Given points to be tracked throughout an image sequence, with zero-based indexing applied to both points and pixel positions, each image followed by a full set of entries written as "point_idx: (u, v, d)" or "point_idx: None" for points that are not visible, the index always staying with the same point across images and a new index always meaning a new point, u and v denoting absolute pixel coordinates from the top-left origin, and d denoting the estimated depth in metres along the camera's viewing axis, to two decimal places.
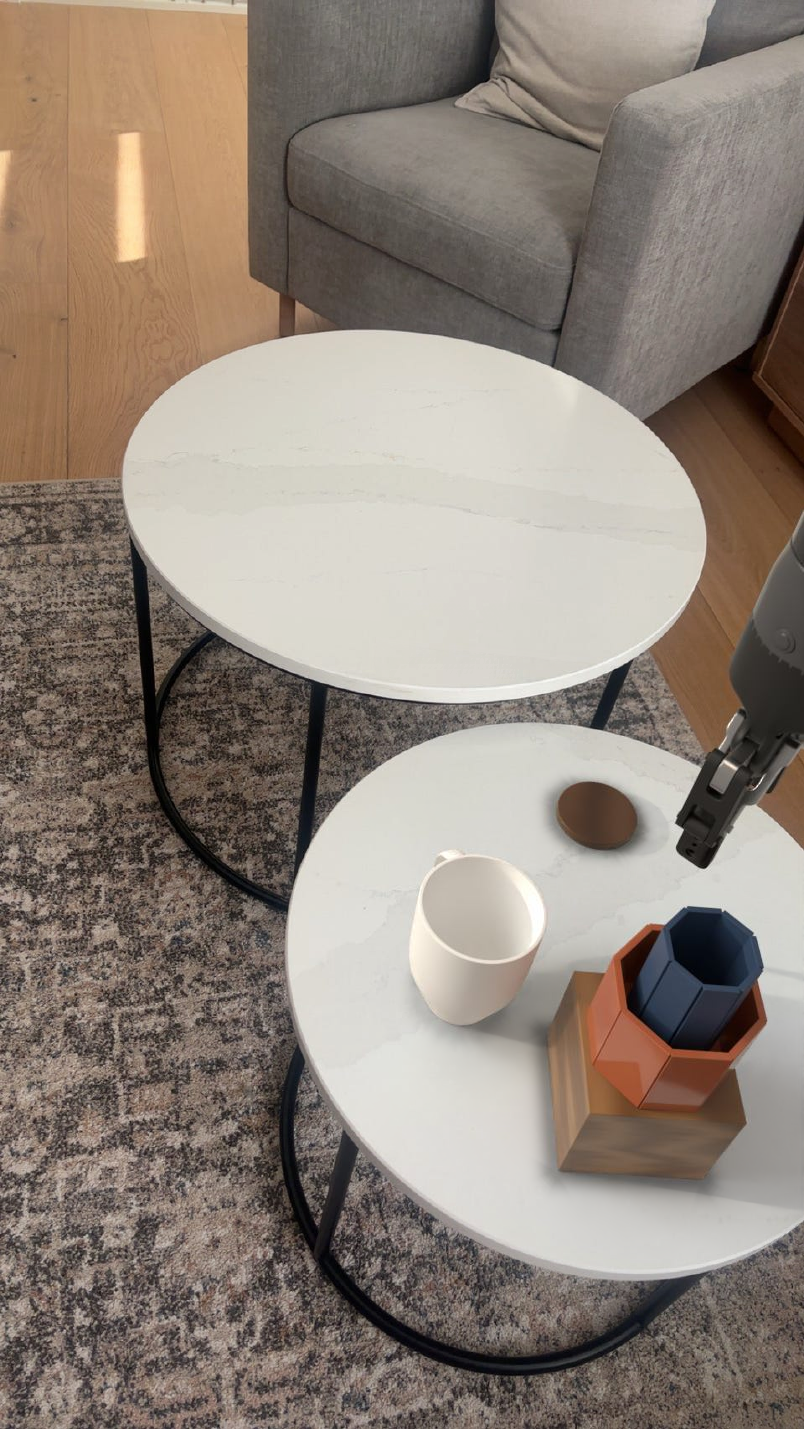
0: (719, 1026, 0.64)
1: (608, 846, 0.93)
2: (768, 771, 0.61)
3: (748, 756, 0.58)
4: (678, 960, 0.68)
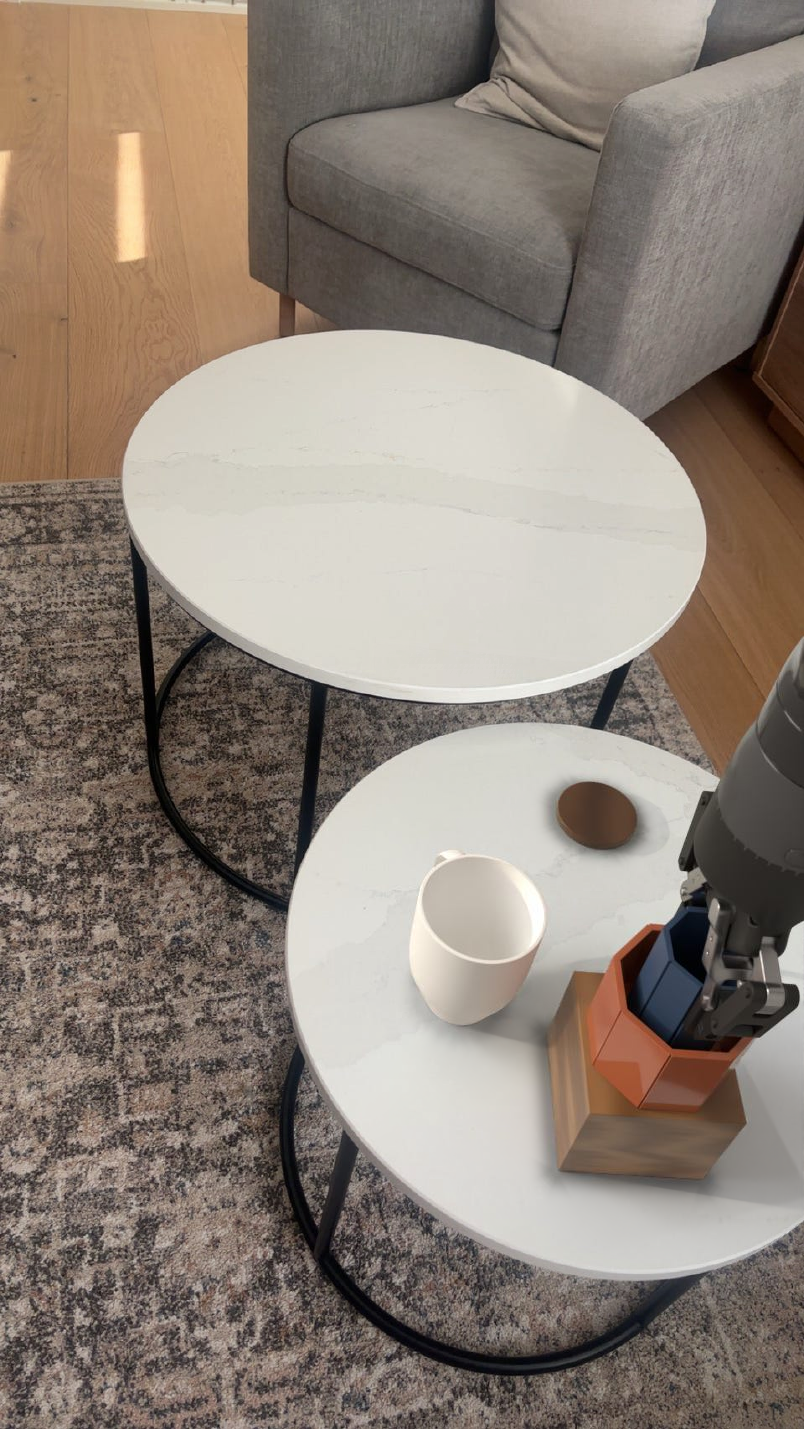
0: None
1: (608, 846, 0.93)
2: None
3: (778, 968, 0.55)
4: (678, 960, 0.68)
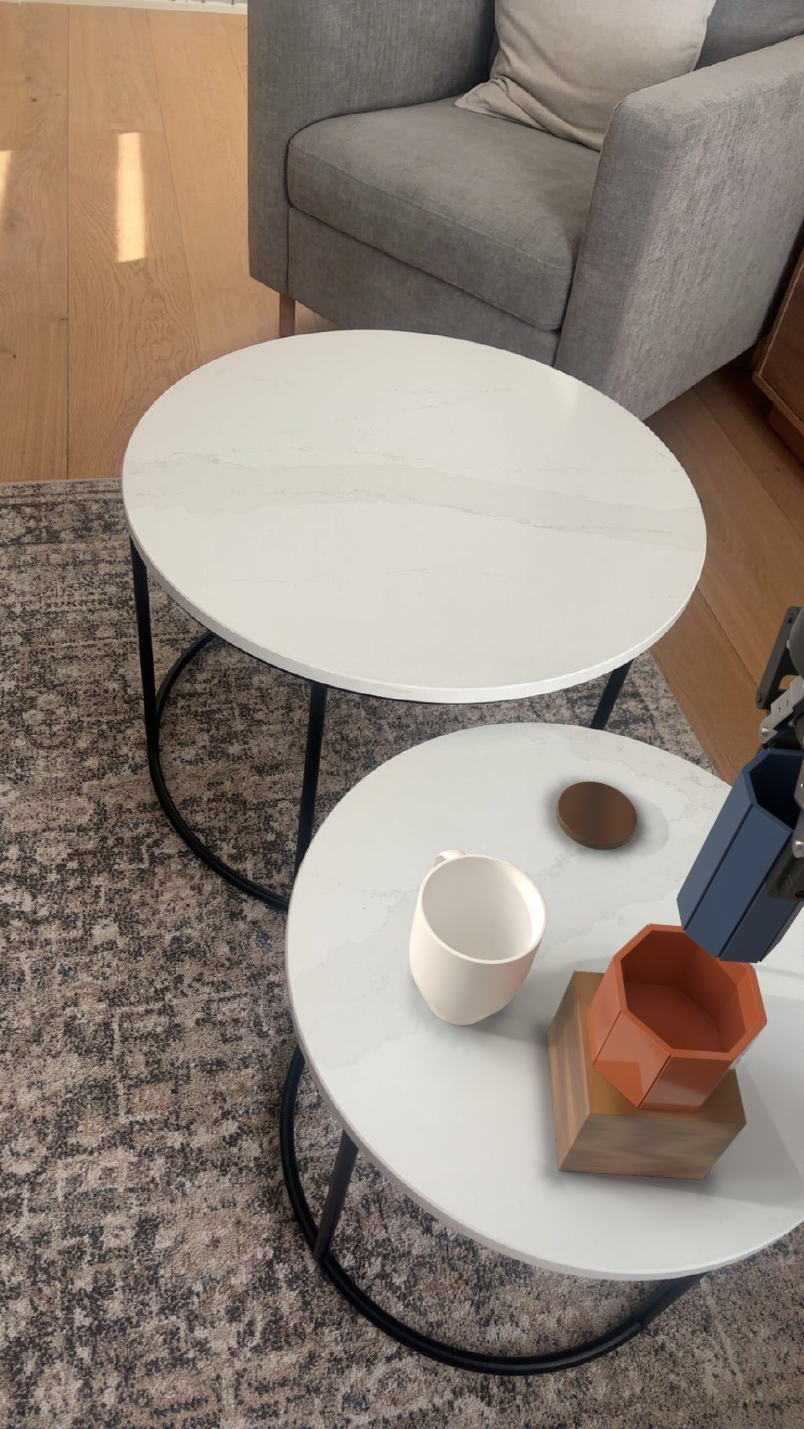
0: None
1: (608, 846, 0.93)
2: None
3: None
4: None
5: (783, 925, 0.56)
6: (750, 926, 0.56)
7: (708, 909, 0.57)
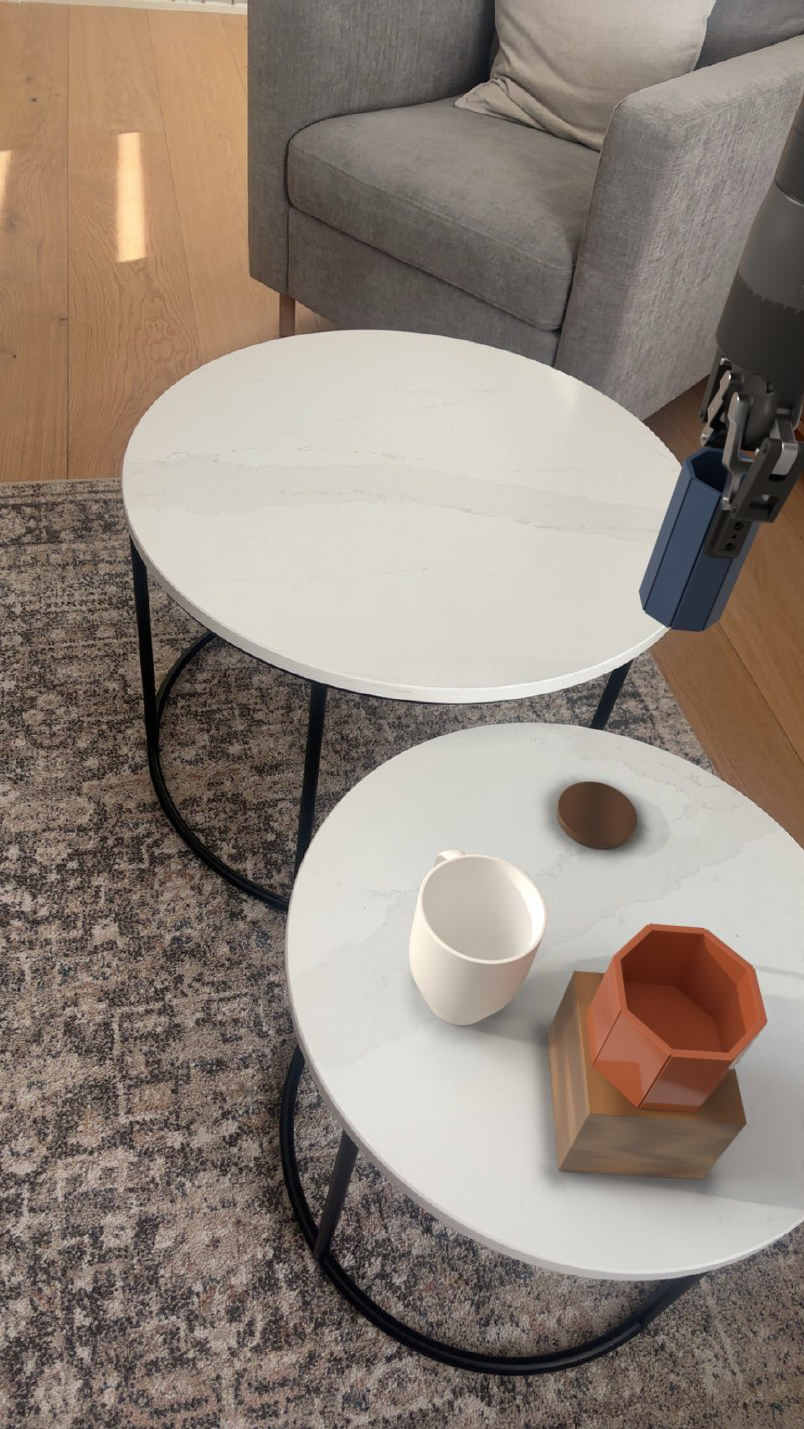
0: None
1: (608, 846, 0.93)
2: None
3: (791, 430, 0.61)
4: None
5: (719, 591, 0.73)
6: (693, 592, 0.73)
7: (661, 583, 0.74)
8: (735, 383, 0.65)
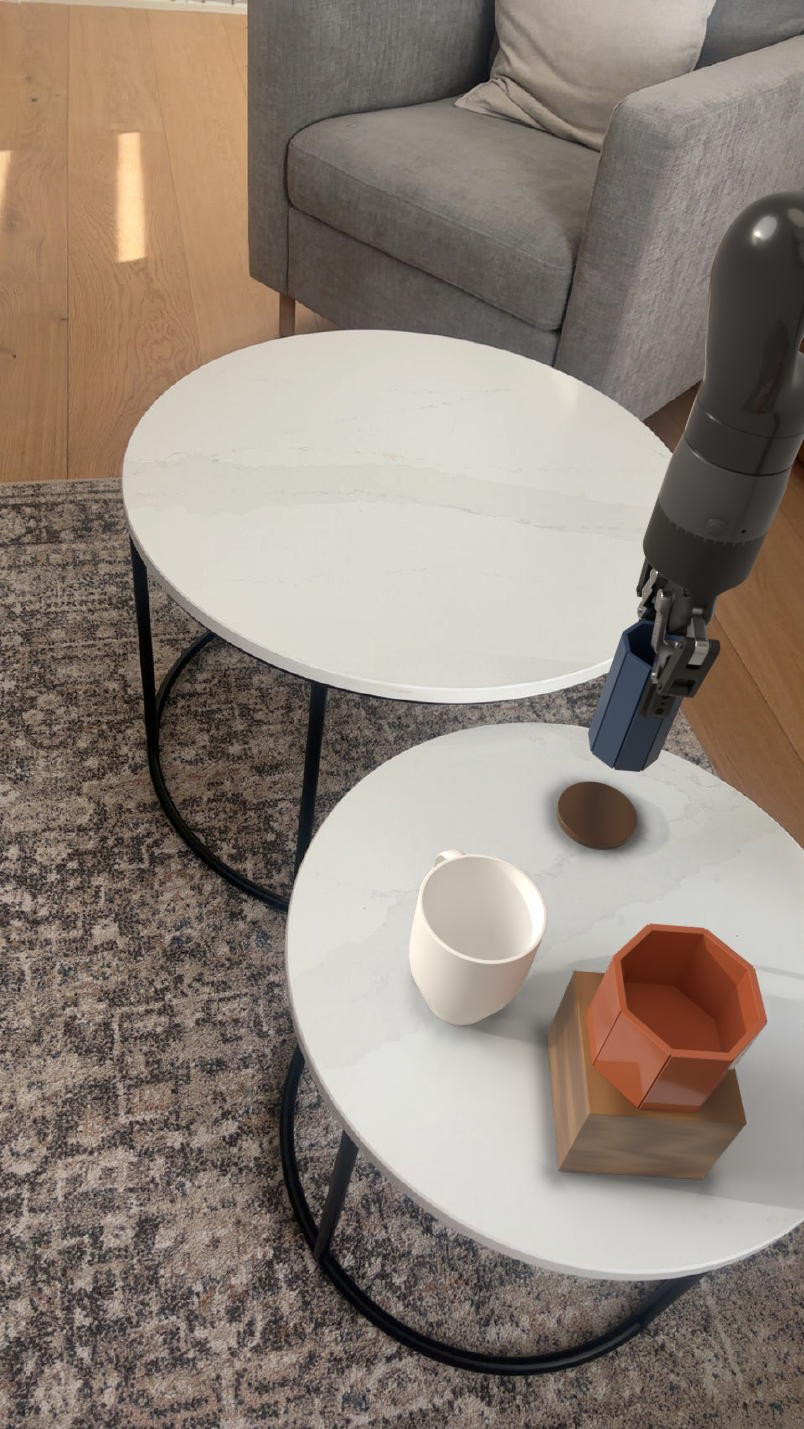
0: None
1: (608, 846, 0.93)
2: None
3: (704, 629, 0.73)
4: None
5: (654, 741, 0.84)
6: (632, 742, 0.84)
7: (605, 732, 0.85)
8: (661, 578, 0.77)
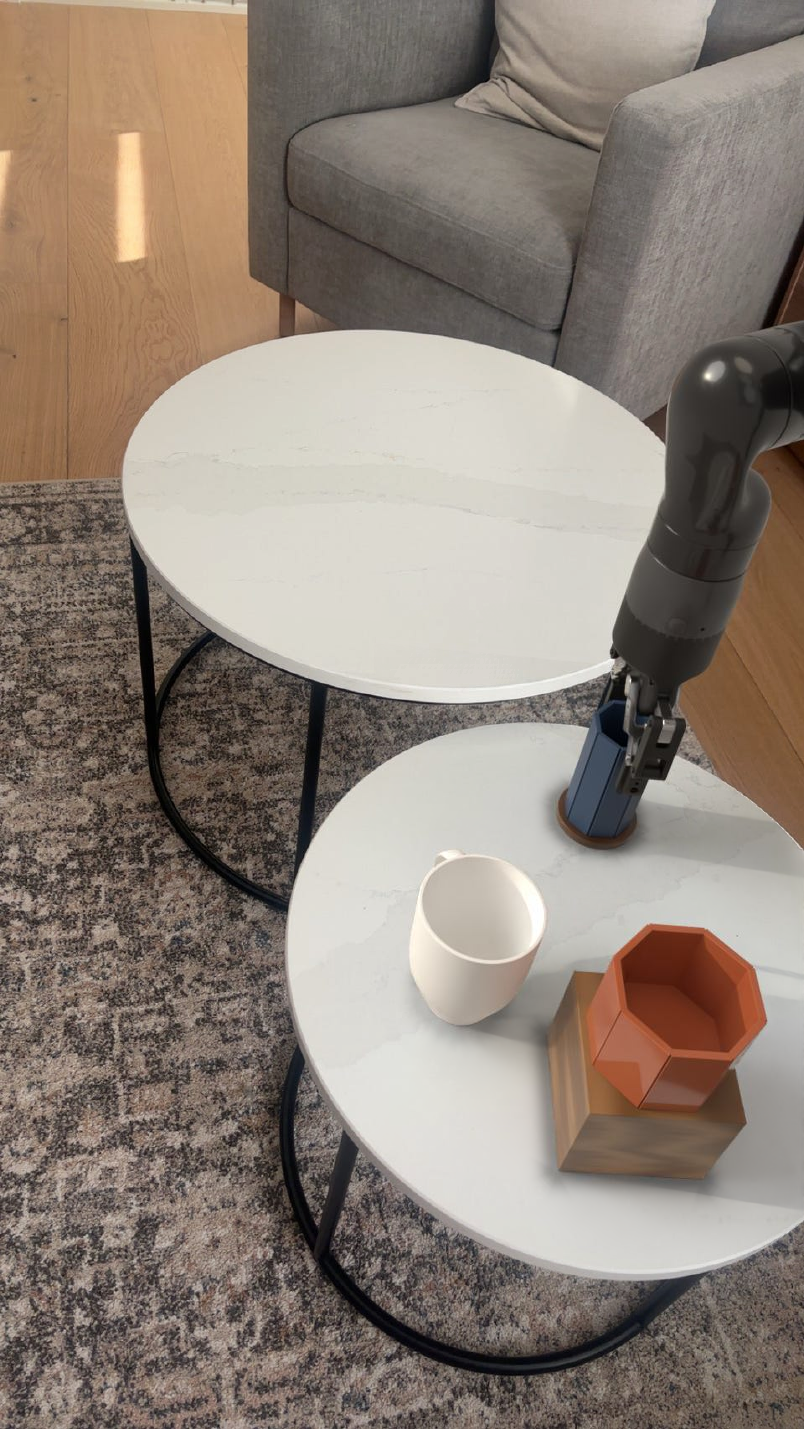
0: None
1: (608, 846, 0.93)
2: None
3: (670, 709, 0.79)
4: None
5: (625, 811, 0.91)
6: (604, 812, 0.90)
7: (579, 802, 0.91)
8: None
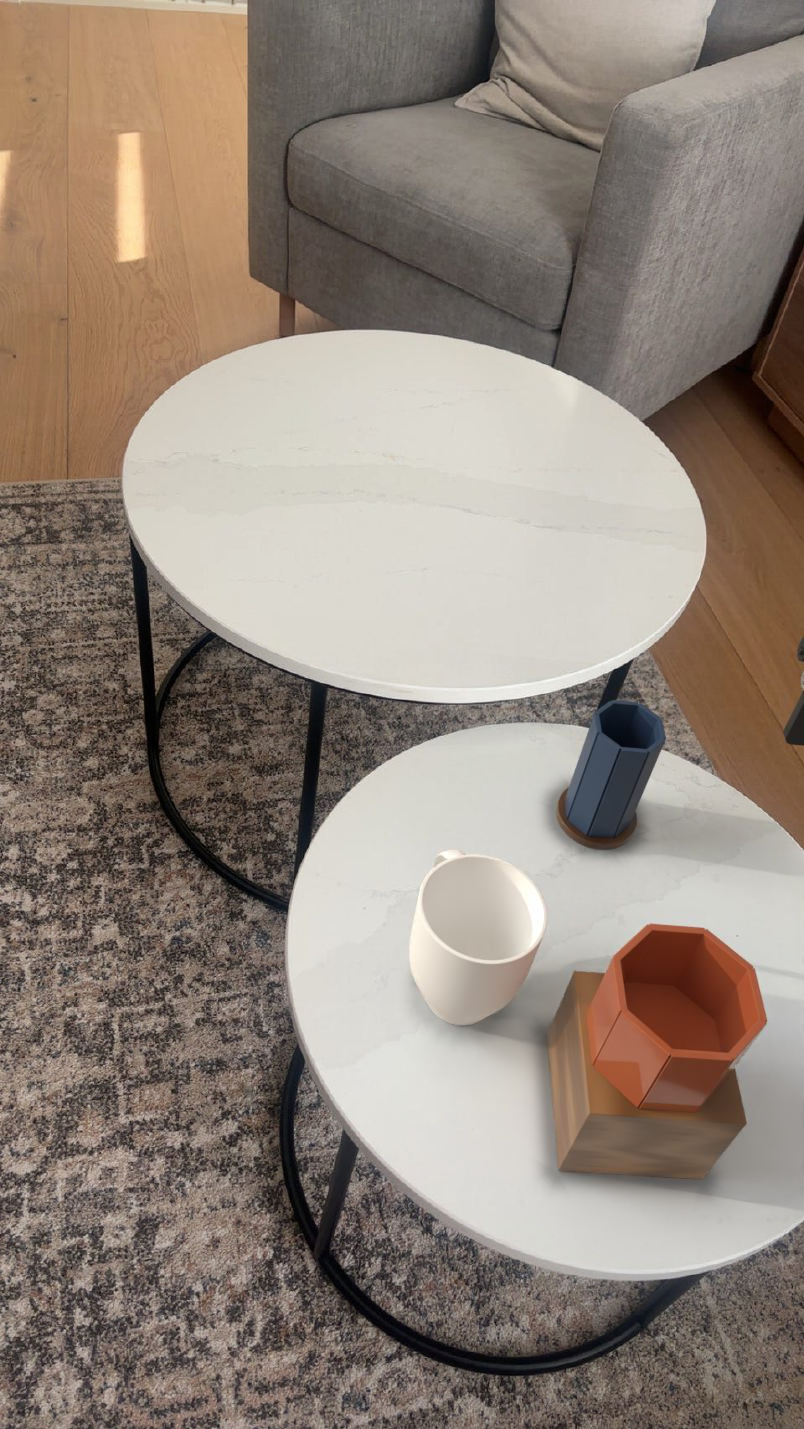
0: (635, 785, 0.88)
1: (608, 846, 0.93)
2: None
3: None
4: None
5: (625, 811, 0.91)
6: (604, 812, 0.90)
7: (579, 802, 0.91)
8: None
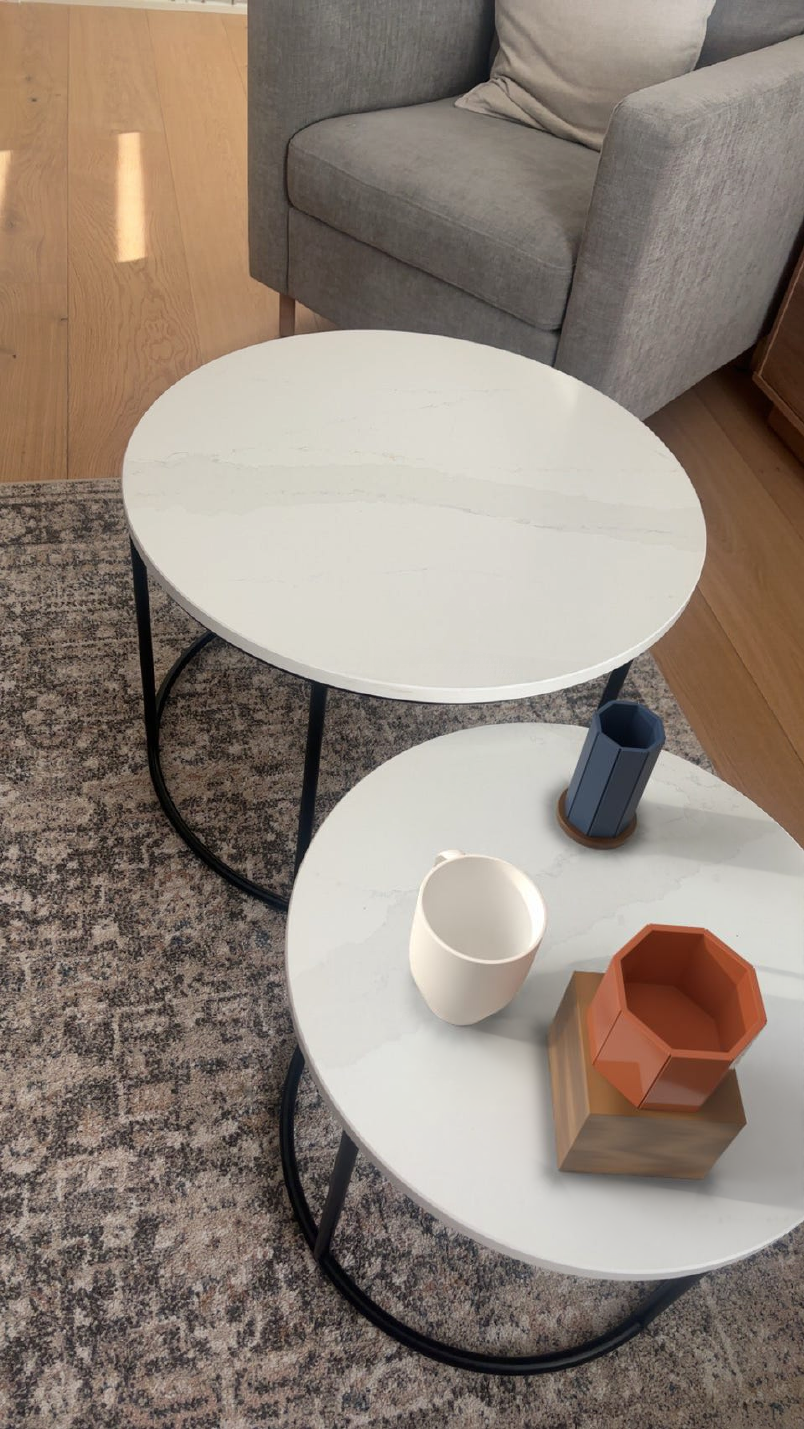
0: (635, 785, 0.88)
1: (608, 846, 0.93)
2: None
3: None
4: None
5: (625, 811, 0.91)
6: (604, 812, 0.90)
7: (579, 802, 0.91)
8: None
